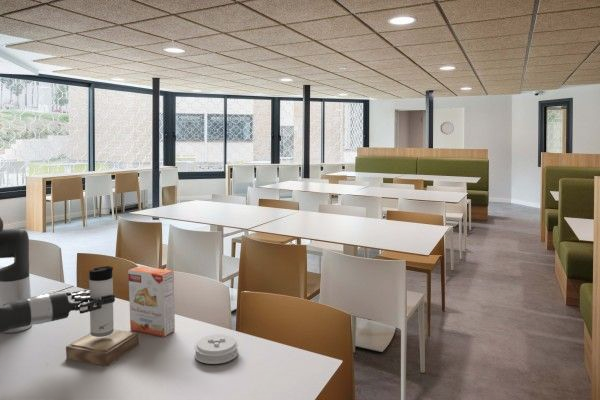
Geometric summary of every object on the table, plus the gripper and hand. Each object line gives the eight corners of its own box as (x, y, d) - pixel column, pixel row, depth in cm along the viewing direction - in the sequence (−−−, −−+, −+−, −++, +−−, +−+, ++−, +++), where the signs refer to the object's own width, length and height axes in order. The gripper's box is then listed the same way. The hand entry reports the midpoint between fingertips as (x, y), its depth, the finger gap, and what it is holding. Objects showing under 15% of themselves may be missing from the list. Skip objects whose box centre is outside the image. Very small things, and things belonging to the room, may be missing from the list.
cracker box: (129, 330, 148) (127, 269, 145) (142, 324, 153) (140, 264, 150) (163, 338, 142) (162, 274, 140) (175, 331, 148) (174, 269, 145)
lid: (245, 350, 135) (245, 334, 135) (225, 370, 123) (225, 353, 123) (209, 343, 139) (208, 328, 139) (185, 362, 128) (185, 345, 127)
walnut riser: (66, 358, 128) (65, 345, 128) (100, 338, 142) (100, 326, 141) (107, 365, 124) (106, 352, 124) (138, 344, 138) (138, 332, 137)
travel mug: (106, 338, 128) (104, 270, 126) (85, 335, 129) (84, 268, 127) (119, 330, 134) (117, 265, 132) (99, 327, 136) (98, 263, 133)
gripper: (54, 301, 115) (119, 288, 127) (39, 288, 126) (100, 277, 137) (55, 329, 116) (119, 314, 128) (40, 313, 126) (101, 301, 138)
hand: (109, 295), depth 132 cm, fingers closed on travel mug, 6 cm apart
